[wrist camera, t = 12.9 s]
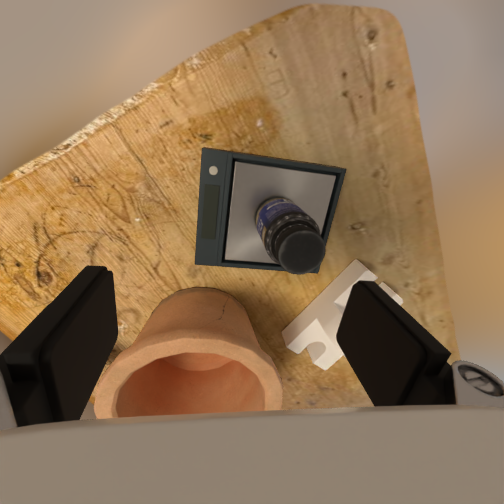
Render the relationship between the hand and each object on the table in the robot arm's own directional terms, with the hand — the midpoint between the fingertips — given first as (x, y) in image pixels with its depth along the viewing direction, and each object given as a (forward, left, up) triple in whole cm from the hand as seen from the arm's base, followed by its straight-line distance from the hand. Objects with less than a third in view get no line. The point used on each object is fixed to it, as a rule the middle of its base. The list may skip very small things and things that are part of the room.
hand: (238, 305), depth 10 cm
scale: (+3, +6, -27) cm, 28 cm away
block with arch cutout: (+19, +22, -27) cm, 40 cm away
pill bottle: (+3, +7, -25) cm, 26 cm away
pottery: (+24, -1, -27) cm, 36 cm away
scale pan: (+3, +8, -25) cm, 26 cm away
